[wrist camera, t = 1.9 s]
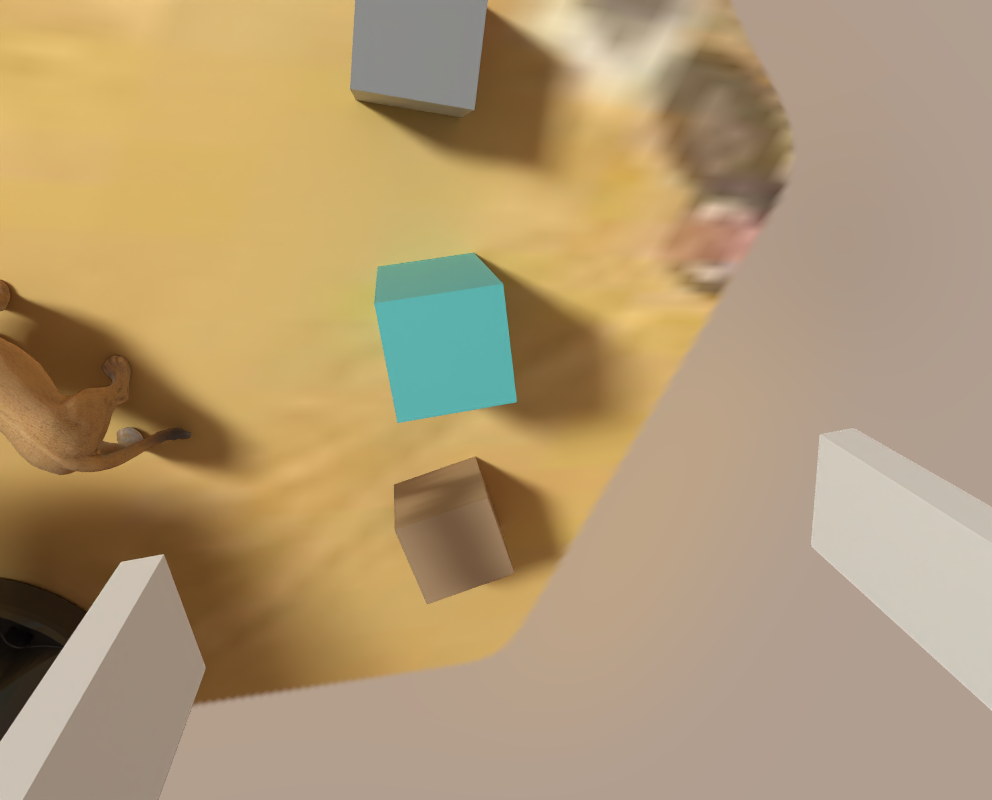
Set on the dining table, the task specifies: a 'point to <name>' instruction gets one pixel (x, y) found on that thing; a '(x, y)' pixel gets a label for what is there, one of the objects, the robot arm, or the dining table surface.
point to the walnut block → (450, 530)
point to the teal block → (444, 336)
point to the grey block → (418, 53)
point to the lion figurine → (66, 415)
